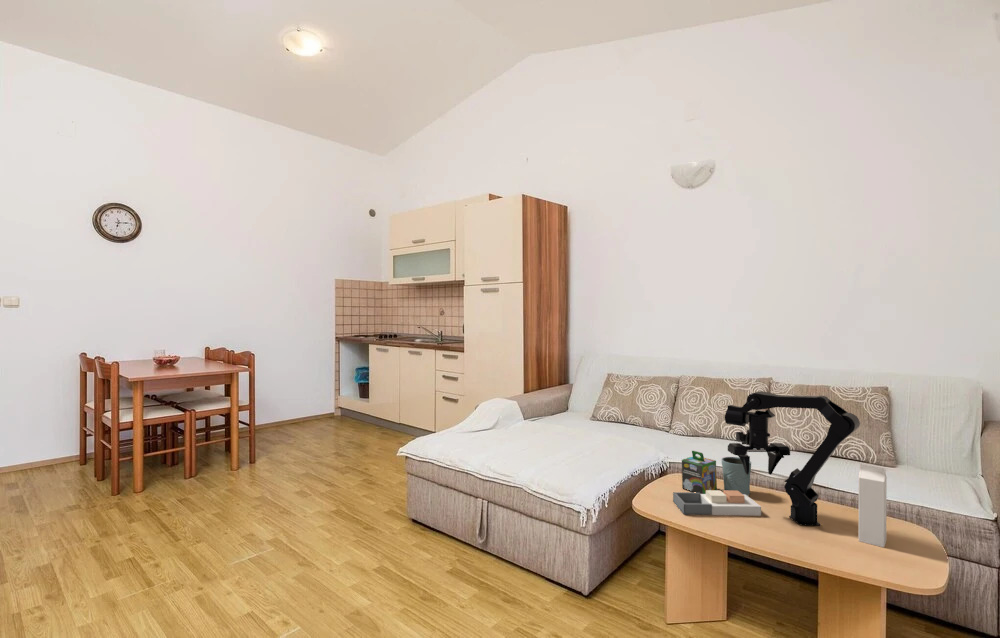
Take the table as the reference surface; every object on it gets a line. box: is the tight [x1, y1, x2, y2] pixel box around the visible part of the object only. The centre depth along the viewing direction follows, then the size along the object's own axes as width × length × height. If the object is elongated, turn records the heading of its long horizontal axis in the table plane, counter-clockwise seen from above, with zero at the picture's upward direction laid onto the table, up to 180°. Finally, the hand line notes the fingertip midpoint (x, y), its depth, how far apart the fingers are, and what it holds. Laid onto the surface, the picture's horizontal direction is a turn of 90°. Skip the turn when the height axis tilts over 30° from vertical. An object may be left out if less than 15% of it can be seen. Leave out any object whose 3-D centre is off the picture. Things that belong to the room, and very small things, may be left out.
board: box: [700, 494, 762, 517], centre depth 167 cm, size 16×11×3 cm
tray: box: [672, 491, 713, 516], centre depth 167 cm, size 9×11×4 cm
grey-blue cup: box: [721, 456, 752, 497], centre depth 182 cm, size 10×10×12 cm
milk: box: [858, 464, 888, 548], centre depth 143 cm, size 6×6×22 cm
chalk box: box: [681, 450, 718, 494], centre depth 185 cm, size 9×9×15 cm
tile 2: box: [722, 489, 745, 503], centre depth 167 cm, size 5×5×2 cm
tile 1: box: [706, 489, 727, 503], centre depth 167 cm, size 5×5×2 cm
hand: (758, 474), depth 166 cm, fingers open, 7 cm apart
